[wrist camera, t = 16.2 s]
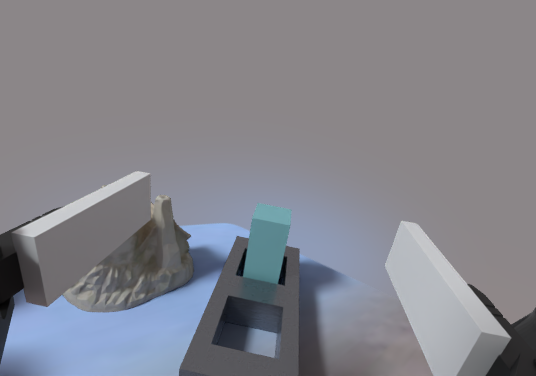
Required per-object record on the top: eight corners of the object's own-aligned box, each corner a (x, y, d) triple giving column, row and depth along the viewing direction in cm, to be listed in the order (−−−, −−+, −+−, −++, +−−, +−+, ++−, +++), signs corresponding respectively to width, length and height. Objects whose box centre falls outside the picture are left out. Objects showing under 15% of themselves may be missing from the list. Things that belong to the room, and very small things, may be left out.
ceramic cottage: (206, 282, 38) (207, 180, 33) (59, 336, 28) (30, 202, 23) (168, 234, 49) (165, 152, 44) (54, 260, 40) (34, 159, 35)
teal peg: (276, 281, 41) (291, 209, 37) (273, 304, 36) (290, 225, 32) (246, 275, 41) (257, 203, 37) (239, 296, 37) (252, 218, 32)
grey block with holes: (234, 257, 45) (237, 236, 43) (294, 269, 44) (299, 248, 43) (177, 400, 24) (179, 368, 23) (289, 426, 24) (298, 395, 22)
